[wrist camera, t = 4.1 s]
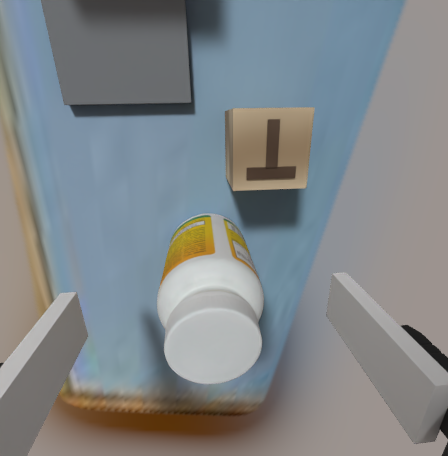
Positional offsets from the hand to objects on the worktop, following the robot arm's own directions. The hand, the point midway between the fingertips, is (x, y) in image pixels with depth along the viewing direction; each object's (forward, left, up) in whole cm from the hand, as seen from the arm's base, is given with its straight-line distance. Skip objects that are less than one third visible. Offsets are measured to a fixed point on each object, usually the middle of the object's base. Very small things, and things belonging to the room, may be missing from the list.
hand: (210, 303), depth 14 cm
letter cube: (-7, +4, -6) cm, 10 cm away
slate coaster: (-13, -4, -6) cm, 15 cm away
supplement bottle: (0, 0, -6) cm, 6 cm away
